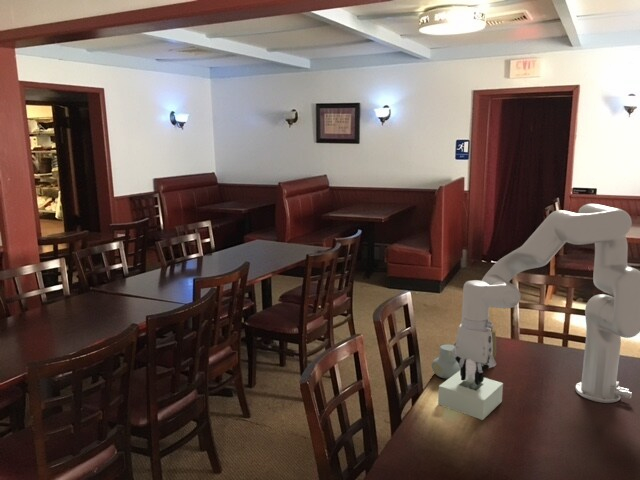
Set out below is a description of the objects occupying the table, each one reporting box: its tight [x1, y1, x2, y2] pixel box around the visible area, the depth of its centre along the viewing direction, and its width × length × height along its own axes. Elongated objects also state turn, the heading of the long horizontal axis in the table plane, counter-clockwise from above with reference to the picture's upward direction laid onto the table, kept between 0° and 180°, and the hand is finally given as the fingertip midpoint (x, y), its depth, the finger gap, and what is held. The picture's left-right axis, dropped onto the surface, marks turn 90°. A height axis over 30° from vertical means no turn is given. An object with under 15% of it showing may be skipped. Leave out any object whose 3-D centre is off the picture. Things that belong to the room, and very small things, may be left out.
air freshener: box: [431, 344, 461, 380], centre depth 180 cm, size 11×8×10 cm
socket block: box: [437, 371, 504, 421], centre depth 162 cm, size 14×14×6 cm
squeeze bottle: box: [485, 318, 497, 365], centre depth 190 cm, size 8×8×18 cm
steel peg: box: [464, 359, 478, 391], centre depth 161 cm, size 4×4×14 cm
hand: (471, 380), depth 161 cm, fingers closed on steel peg, 4 cm apart
